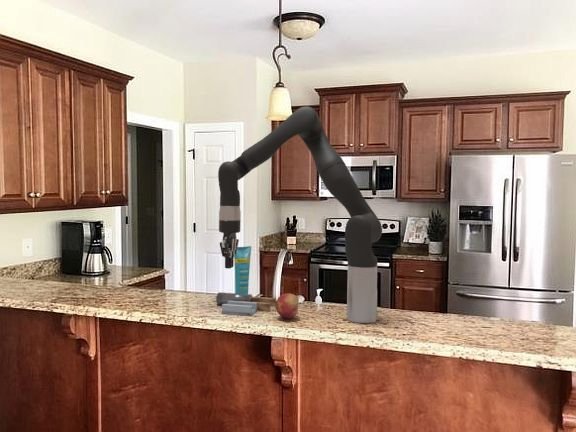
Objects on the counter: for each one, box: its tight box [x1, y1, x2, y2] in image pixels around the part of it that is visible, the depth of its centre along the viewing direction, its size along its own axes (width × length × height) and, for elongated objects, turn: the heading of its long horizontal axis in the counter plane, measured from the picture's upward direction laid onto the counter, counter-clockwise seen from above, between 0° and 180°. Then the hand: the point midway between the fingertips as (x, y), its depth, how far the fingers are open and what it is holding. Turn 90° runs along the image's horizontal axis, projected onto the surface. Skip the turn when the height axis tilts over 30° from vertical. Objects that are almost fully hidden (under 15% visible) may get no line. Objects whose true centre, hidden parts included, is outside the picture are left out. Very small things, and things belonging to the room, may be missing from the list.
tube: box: [234, 245, 252, 294], centre depth 183 cm, size 7×5×19 cm, turn 123°
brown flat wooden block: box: [241, 296, 277, 312], centre depth 164 cm, size 12×9×2 cm
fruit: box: [274, 293, 299, 320], centre depth 149 cm, size 8×8×8 cm
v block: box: [221, 301, 258, 317], centre depth 156 cm, size 10×6×3 cm, turn 77°
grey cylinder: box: [215, 292, 254, 306], centre depth 166 cm, size 12×4×4 cm, turn 76°
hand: (229, 267), depth 166 cm, fingers closed
